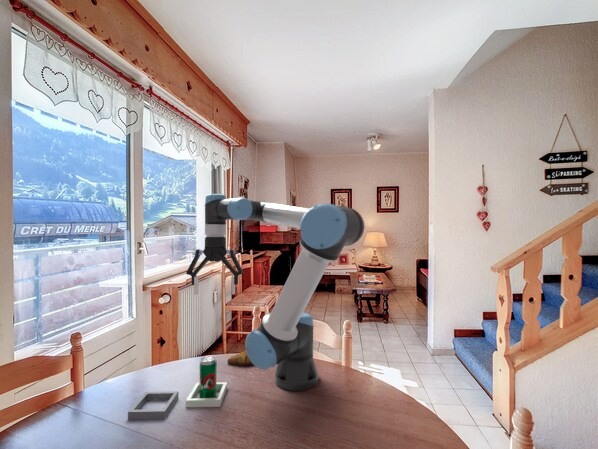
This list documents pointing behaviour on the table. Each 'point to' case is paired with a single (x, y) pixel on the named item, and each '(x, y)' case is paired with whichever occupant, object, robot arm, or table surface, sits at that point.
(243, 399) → the table surface
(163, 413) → the socket upper
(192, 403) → the socket lower
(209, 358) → the soda can
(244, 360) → the croissant
